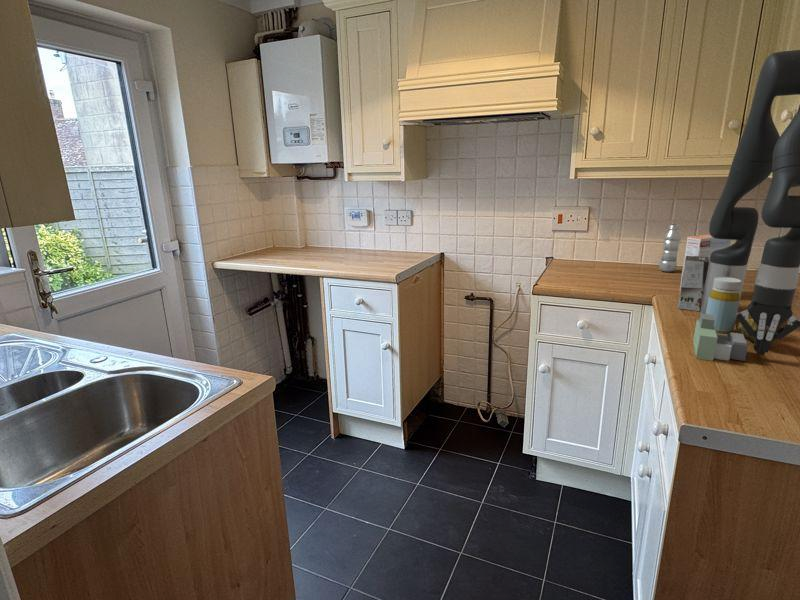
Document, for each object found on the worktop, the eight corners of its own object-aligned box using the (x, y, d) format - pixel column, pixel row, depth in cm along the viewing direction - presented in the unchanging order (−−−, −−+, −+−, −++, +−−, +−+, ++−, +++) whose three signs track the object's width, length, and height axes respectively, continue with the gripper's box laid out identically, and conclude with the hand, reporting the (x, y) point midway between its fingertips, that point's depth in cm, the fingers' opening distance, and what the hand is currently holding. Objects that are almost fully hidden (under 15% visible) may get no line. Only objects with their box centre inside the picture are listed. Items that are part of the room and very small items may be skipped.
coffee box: (700, 311, 150) (709, 261, 145) (677, 308, 153) (685, 259, 148) (700, 304, 157) (709, 256, 152) (678, 301, 160) (686, 254, 156)
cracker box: (706, 289, 174) (717, 233, 168) (721, 294, 168) (733, 235, 162) (677, 293, 170) (686, 235, 164) (691, 297, 164) (702, 238, 158)
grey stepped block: (710, 345, 122) (713, 329, 121) (740, 349, 119) (743, 333, 118) (713, 356, 115) (716, 339, 114) (744, 360, 113) (748, 344, 111)
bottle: (705, 325, 137) (714, 275, 133) (733, 330, 133) (744, 278, 129) (701, 331, 132) (710, 280, 128) (731, 337, 128) (742, 284, 124)
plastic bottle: (654, 270, 204) (661, 224, 199) (667, 269, 206) (674, 223, 201) (666, 273, 198) (674, 226, 193) (679, 272, 200) (687, 225, 195)
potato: (769, 337, 128) (775, 309, 126) (781, 354, 117) (788, 324, 115) (732, 332, 131) (738, 305, 129) (740, 349, 120) (747, 319, 118)
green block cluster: (693, 340, 126) (698, 310, 124) (723, 345, 123) (730, 314, 120) (695, 358, 115) (701, 325, 113) (729, 363, 112) (736, 330, 109)
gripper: (808, 283, 109) (791, 352, 114) (739, 277, 115) (725, 343, 120) (816, 291, 103) (798, 364, 108) (742, 284, 109) (728, 353, 114)
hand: (759, 353), depth 114 cm, fingers closed
